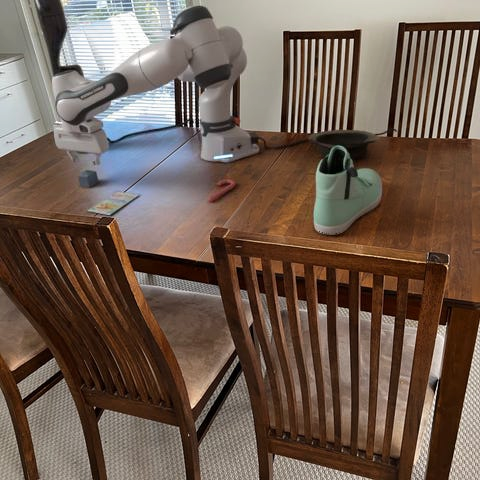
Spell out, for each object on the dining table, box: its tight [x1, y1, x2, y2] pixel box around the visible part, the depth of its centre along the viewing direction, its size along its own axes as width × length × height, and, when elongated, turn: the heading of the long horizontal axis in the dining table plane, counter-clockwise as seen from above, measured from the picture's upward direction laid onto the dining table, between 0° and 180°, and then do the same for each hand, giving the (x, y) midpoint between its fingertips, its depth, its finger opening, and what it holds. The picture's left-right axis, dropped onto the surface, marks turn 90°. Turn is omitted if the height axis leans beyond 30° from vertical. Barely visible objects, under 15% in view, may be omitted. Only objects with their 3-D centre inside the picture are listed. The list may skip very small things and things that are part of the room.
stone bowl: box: [307, 129, 380, 162], centre depth 171 cm, size 25×25×9 cm
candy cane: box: [207, 178, 236, 203], centre depth 154 cm, size 6×15×2 cm, turn 145°
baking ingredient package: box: [87, 191, 139, 216], centre depth 152 cm, size 9×1×15 cm
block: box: [77, 169, 99, 189], centre depth 166 cm, size 4×5×4 cm
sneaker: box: [313, 146, 383, 236], centre depth 133 cm, size 14×35×20 cm, turn 152°
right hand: (86, 163), depth 162 cm, fingers open, 8 cm apart
